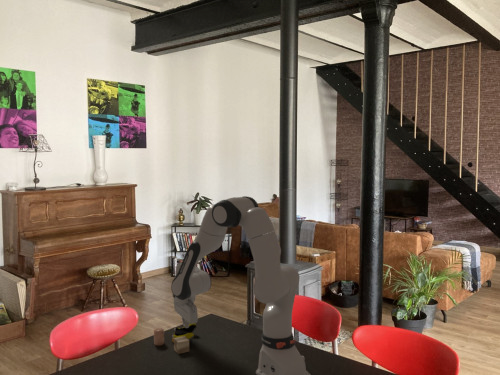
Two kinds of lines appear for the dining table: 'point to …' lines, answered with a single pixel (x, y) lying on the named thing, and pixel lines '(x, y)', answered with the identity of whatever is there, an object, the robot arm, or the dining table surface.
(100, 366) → the dining table surface
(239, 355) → the dining table surface
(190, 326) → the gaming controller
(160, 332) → the terracotta cylinder
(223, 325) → the dining table surface
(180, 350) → the maple block
